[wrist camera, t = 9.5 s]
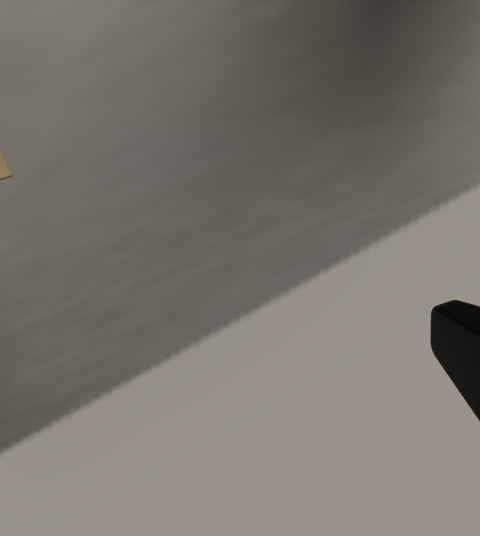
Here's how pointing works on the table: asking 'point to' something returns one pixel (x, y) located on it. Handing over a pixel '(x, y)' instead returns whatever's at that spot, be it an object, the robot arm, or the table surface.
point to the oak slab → (4, 167)
